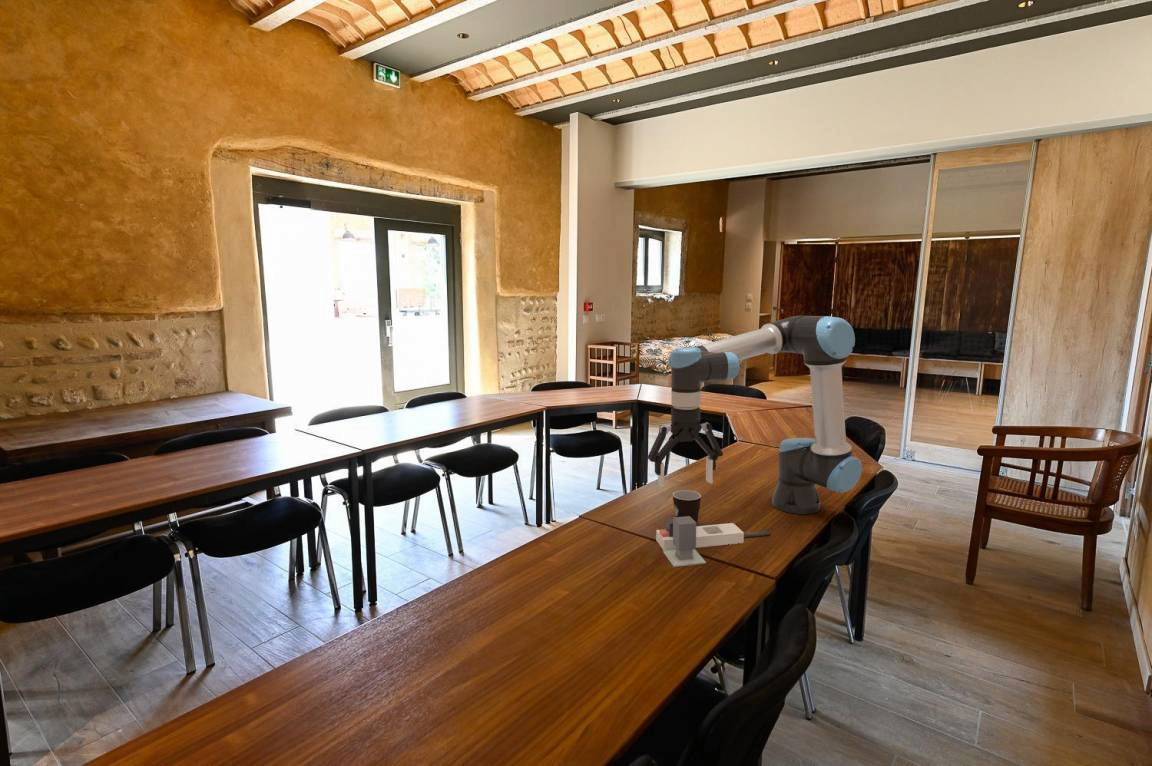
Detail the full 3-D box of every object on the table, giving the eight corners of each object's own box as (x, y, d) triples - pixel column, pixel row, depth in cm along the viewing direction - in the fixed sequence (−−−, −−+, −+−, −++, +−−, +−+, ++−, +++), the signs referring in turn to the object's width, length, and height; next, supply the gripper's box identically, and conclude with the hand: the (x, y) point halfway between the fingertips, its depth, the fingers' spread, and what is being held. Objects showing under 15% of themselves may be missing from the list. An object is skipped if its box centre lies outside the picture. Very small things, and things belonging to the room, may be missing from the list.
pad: (693, 548, 160) (693, 547, 160) (705, 563, 152) (705, 562, 152) (662, 552, 159) (662, 550, 159) (673, 567, 150) (673, 565, 150)
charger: (689, 551, 158) (689, 516, 156) (695, 559, 153) (696, 522, 151) (672, 553, 157) (673, 517, 155) (678, 561, 152) (679, 524, 151)
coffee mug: (700, 532, 171) (701, 500, 170) (672, 530, 173) (672, 499, 171) (700, 517, 182) (700, 487, 181) (673, 515, 184) (673, 486, 183)
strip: (763, 530, 172) (764, 507, 171) (775, 539, 165) (776, 516, 164) (656, 540, 166) (656, 517, 165) (664, 551, 159) (664, 526, 158)
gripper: (724, 401, 154) (722, 475, 158) (635, 406, 150) (636, 483, 153) (736, 406, 147) (734, 484, 150) (644, 412, 143) (644, 492, 146)
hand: (685, 484), depth 152 cm, fingers open, 13 cm apart
